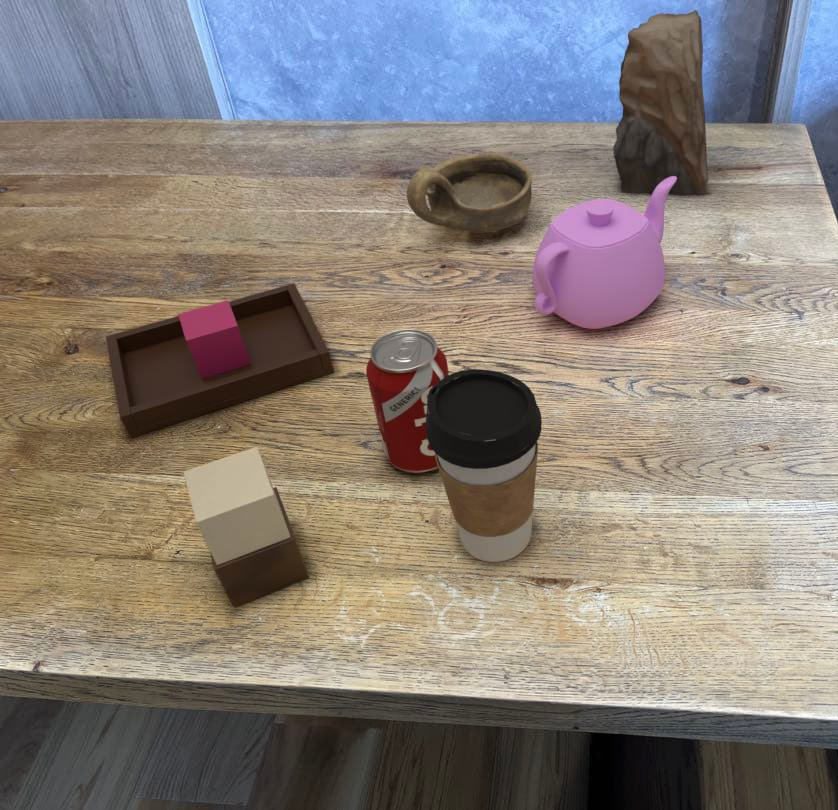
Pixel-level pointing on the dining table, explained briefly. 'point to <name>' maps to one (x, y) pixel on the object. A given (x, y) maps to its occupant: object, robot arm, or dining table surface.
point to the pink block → (214, 339)
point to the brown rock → (663, 107)
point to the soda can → (405, 394)
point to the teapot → (602, 261)
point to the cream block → (235, 505)
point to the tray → (193, 396)
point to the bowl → (472, 192)
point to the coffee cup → (486, 458)
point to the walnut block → (263, 569)
